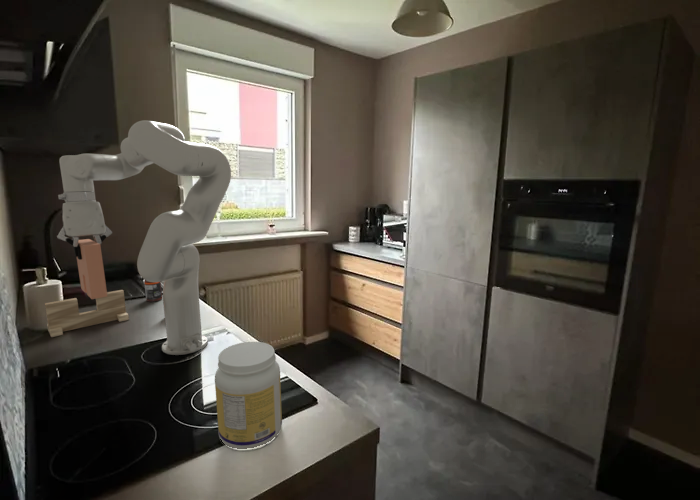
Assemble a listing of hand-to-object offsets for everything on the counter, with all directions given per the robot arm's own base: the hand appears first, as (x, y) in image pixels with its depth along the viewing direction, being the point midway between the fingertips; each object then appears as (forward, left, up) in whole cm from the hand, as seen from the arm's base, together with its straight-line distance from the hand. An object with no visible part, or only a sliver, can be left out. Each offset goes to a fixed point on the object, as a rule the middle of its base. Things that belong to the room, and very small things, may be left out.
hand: (88, 257), depth 117 cm
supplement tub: (-77, -11, -26) cm, 82 cm away
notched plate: (0, 0, -11) cm, 11 cm away
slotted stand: (+12, 0, -25) cm, 28 cm away
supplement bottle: (+26, -25, -26) cm, 44 cm away
